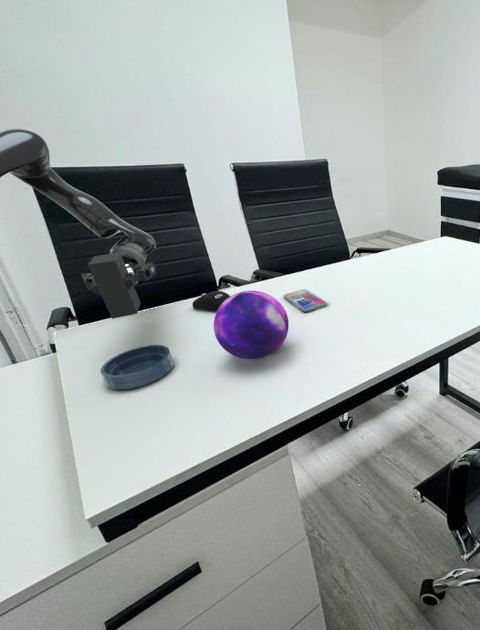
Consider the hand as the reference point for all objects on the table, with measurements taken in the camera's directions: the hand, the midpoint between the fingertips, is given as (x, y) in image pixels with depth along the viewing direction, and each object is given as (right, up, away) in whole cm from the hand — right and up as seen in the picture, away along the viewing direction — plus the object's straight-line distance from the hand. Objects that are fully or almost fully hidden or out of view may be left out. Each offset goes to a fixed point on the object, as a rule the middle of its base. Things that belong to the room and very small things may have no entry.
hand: (113, 287), depth 79 cm
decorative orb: (+27, -15, +8) cm, 32 cm away
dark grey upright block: (-1, -5, +5) cm, 7 cm away
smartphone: (+30, -2, +33) cm, 45 cm away
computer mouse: (+4, -3, +33) cm, 33 cm away
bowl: (+4, -18, +3) cm, 19 cm away
